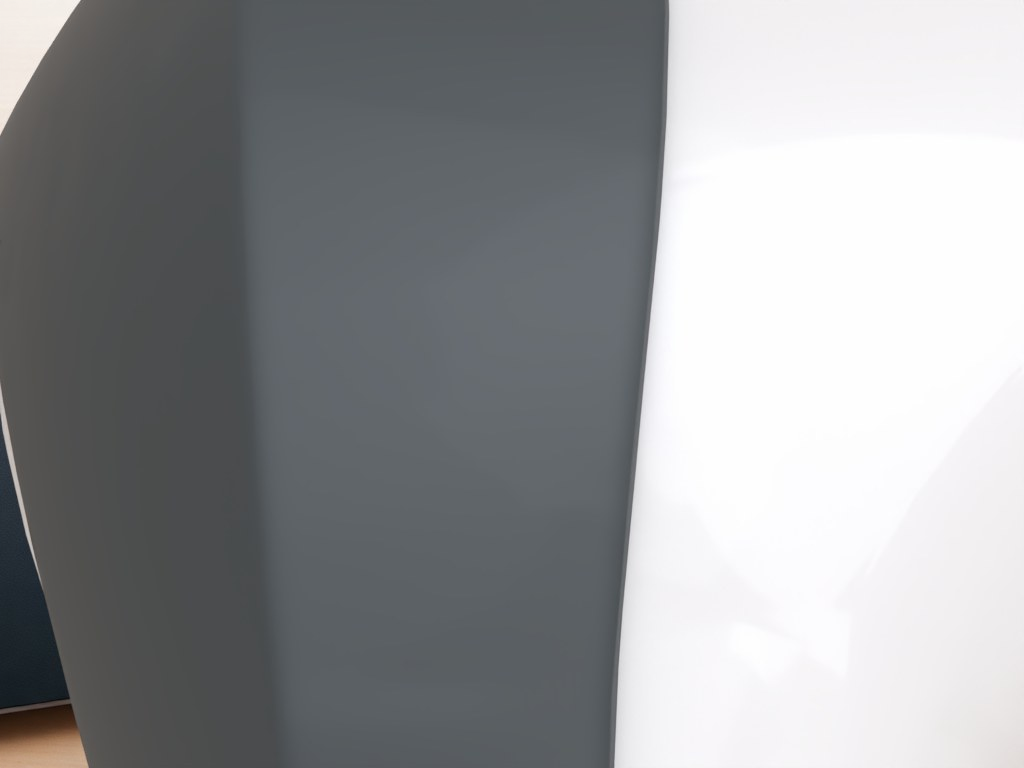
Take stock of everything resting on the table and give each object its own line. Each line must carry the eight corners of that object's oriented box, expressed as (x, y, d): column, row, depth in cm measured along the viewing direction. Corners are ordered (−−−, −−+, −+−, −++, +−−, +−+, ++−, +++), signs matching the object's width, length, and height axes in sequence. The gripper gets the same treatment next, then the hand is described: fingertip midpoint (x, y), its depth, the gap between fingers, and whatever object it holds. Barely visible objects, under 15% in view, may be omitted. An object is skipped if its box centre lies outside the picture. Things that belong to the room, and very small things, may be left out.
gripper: (315, 332, 17) (329, 477, 31) (1149, 100, 20) (828, 329, 33) (241, 94, 19) (283, 326, 33) (1005, -94, 22) (757, 195, 35)
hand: (560, 326), depth 33 cm, fingers closed
